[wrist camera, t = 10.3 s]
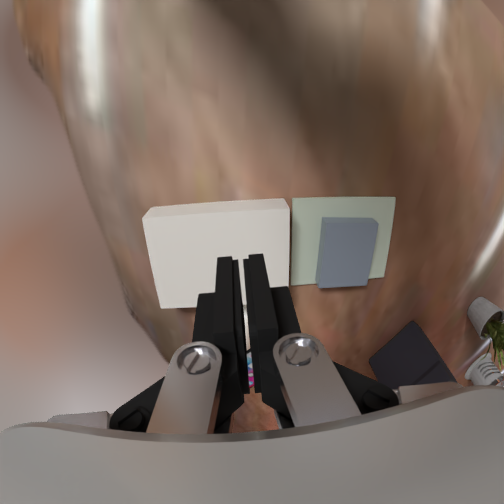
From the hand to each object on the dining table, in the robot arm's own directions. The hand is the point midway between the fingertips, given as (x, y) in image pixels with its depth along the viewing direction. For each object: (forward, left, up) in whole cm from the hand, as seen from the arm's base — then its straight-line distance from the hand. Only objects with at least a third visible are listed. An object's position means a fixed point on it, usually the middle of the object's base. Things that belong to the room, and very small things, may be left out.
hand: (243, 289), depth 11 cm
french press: (+49, +61, -25) cm, 82 cm away
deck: (+10, -3, -25) cm, 27 cm away
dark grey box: (+31, +26, -25) cm, 48 cm away
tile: (+11, +13, -22) cm, 28 cm away
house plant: (+27, +47, -25) cm, 60 cm away
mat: (+10, +13, -25) cm, 30 cm away
